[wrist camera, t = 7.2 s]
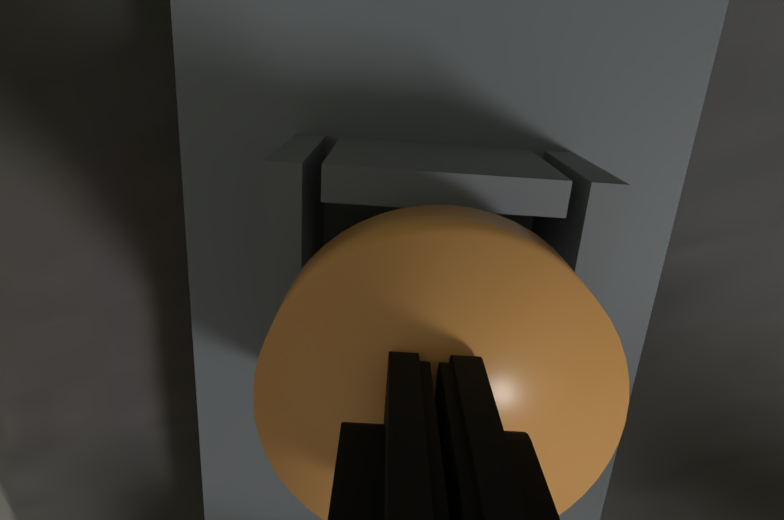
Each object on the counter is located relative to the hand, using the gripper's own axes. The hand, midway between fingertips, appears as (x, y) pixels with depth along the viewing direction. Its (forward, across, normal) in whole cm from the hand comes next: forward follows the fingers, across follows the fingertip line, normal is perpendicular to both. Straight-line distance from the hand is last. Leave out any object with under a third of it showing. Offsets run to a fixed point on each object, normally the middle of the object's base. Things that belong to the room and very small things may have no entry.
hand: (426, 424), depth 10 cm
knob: (+6, 0, 0) cm, 6 cm away
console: (+9, 0, +8) cm, 12 cm away
